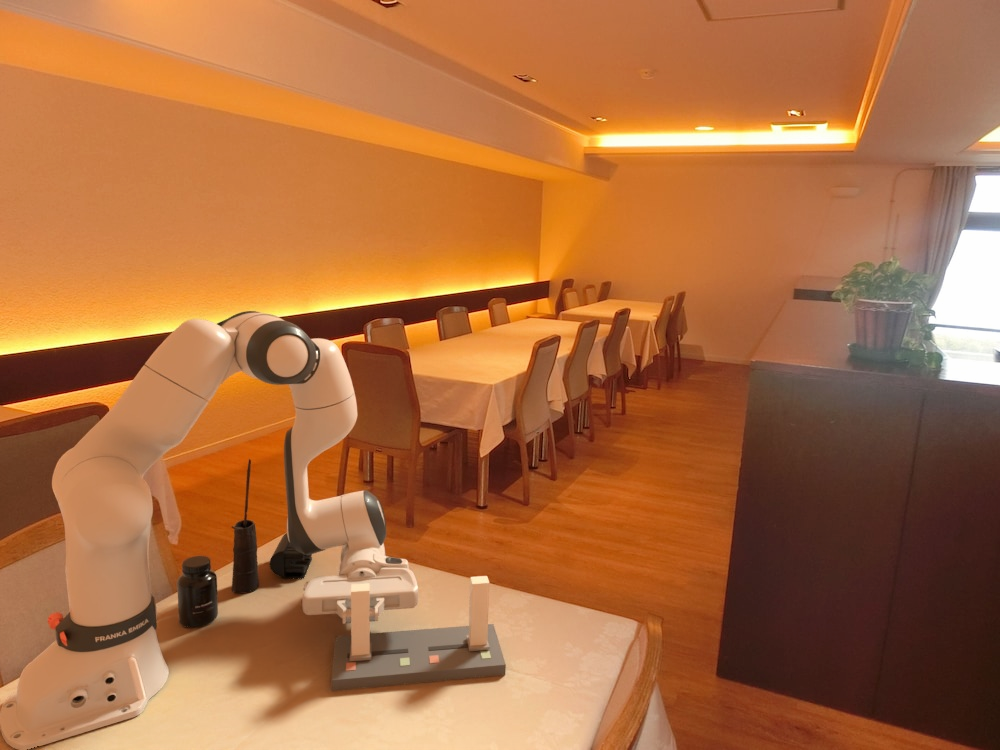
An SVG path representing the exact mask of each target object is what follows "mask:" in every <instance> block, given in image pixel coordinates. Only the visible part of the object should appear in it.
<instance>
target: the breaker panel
mask: <svg viewBox="0 0 1000 750" xmlns="http://www.w3.org/2000/svg"><path fill="white" fill-rule="evenodd" d="M466 635H469V625H464V626H462V625H460V626H449V627H448V626H446V627H438V628H436V627H434V628H423V629H421V628H420V629H409V630H397V631H383V632H373V633H372V632H370V643H371V660H361V661H350V645H351V644H352V643H351V634H346V635H345V634H344V635H335V640H334V649H333V650H334V651H333V659H332V660H333V661H332V668H331V670H332V671H331V680H330V681H331V684H330V685H331V692H334V691H347V690H356V689H357V690H358V689H367V688H369V689H370V688H378V687H379V688H380V687H390V686H391V687H392V686H399V685H400V686H401V685H410V684H411V685H412V684H420V683H421V684H422V683H424V684H425V683H433V682H443V681H453V680H454V681H455V680H464V679H465V680H466V679H474V678H475V679H477V678H487V677H497V676H498V677H499V676H505V675H506V672H507V671H506V670H507V667H506V666H507V665H506V661H505V657H504V654H503V651H502V647H501V643H500V641H499V638H498V634H497V631H496V628H495V625H494V623H488V635H487V640H488V643H489V647H490V649H489V650H478V651H469V648H468V643H467V639H466Z"/></svg>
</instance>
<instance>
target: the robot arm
mask: <svg viewBox="0 0 1000 750" xmlns="http://www.w3.org/2000/svg"><path fill="white" fill-rule="evenodd" d="M162 341H163V342H162V343H161V344H160V345H159V346H158V347H157V348H156V349H155V350H154V351H153V353H152V354H151V355H150V356H149V357H148V359H147V361H145V363H144V365H143V366H142V367H141V368H140V370H139V371H138V373H137V374H136V375H135V377H134V378H133V379H132V380H131V382H130V383H129V385H128V386H127V388H126V389H125V390H124V392H123V393H122V394H121V396H120V397H119V399H118V400H117V401H116V402H115V404H114V405H113V406H112V407H111V408H110V409H109V411H107V413H106V414H105V415H104V416H103V417H102V418H101V419H100V420H99V421H98V422H97V423H96V424H94V426H93V427H92V428H90V429H89V430H88V432H86V434H85V435H84V436H83V437H82V438H80V440H79V441H78V442H77V443H76V444H75V445H74V447H72V448H70V449H68V450H67V451H65V452H64V453H63V454H62V455H61V457H60V458H58V460H57V463H56V465H55V468H54V470H53V473H52V477H51V488H52V491H53V494H54V496H55V499H56V501H57V503H58V508H59V510H60V512H61V513H60V514H61V517H62V520H63V521H62V522H63V525H64V536H65V538H64V539H65V567H64V571H65V572H64V573H65V581H66V589H67V597H68V599H67V601H68V606H69V612H68V613H67V614H66V615H65V616H64V615H63V613H61V612H59V611H58V612H54V613H52V614H50V615H49V617H48V618H47V623H48V625H49V628H50V629H51V630H53V631H54V630H55V631H54V632H55V633H54V634H55V640H54V641H53V642H52V643H51V644H50V645H49V646H48V647H46V648H45V649H44V650H43V651H42V652H41V653H40V654H38V655H37V656H36V657H35V658H34V659H32V660H31V661H30V662H29V663H28V664H27V665H26V666H25V667H24V668H23V670H22V671H21V672H20V673H21V674H20V676H19V679H18V681H17V682H18V683H17V686H16V691H15V692H13V693H12V694H10V695H9V696H8V697H7V698H6V700H5V701H4V702H3V704H2V706H1V708H0V733H1V737H2V738H3V740H4V741H5V743H6V744H7V745H8V746H10V747H11V748H13V749H16V750H27V749H28V750H32V749H35V748H38V747H37V746H39V747H41V746H44V745H48V744H51V743H54V742H57V741H61V740H63V739H64V740H65V739H67V738H71V737H74V736H77V735H80V734H84V733H87V732H89V731H93V730H96V729H99V728H103V727H106V726H109V725H113V724H116V723H118V722H119V723H120V722H122V721H126V720H129V719H132V718H135V717H137V716H139V715H140V714H141V713H142V712H143V711H144V709H145V707H146V706H147V704H148V702H149V701H150V699H152V698H153V697H154V696H155V695H157V693H158V692H159V691H160V690H161V689H162V687H164V685H165V684H166V682H167V680H168V679H169V678H168V677H169V675H170V670H169V667H168V665H167V663H166V661H165V658H164V656H163V653H162V651H161V648H160V647H161V646H160V644H159V640H158V635H157V628H158V625H157V623H158V612H157V602H156V600H155V596H153V594H152V589H151V588H152V586H151V577H150V576H151V575H150V574H151V573H150V562H149V561H150V560H149V547H150V546H149V545H150V538H151V537H150V536H151V529H152V528H151V527H152V525H151V524H152V519H153V518H152V517H153V513H154V512H153V511H154V508H153V507H154V506H153V505H154V504H153V497H152V493H151V488H150V486H149V484H148V483H147V481H146V480H145V479H144V476H145V475H146V473H147V471H149V470H150V468H151V467H152V466H153V465H155V463H156V462H157V461H158V460H160V459H161V458H162V457H163V456H164V455H166V453H167V452H169V451H170V450H171V449H173V448H175V447H177V446H179V445H180V444H181V443H182V442H184V440H185V438H186V436H187V435H188V434H189V433H190V431H191V429H192V428H193V427H194V425H195V424H196V423H197V421H198V419H199V418H200V417H201V415H202V414H203V412H204V411H205V409H206V407H207V406H208V405H209V403H210V402H211V401H212V399H213V397H214V396H215V395H216V393H217V392H218V390H219V388H220V386H221V385H222V384H223V383H224V382H226V380H228V379H229V378H230V377H232V376H233V375H235V374H236V373H241V372H242V373H243V374H245V375H247V376H248V377H250V378H253V379H256V380H259V381H261V382H263V383H265V384H269V385H274V386H281V385H282V386H286V385H288V387H289V389H290V393H291V398H292V402H293V406H294V410H295V411H294V412H295V418H294V422H293V426H292V427H290V428H289V429H288V430H287V431H286V433H285V436H284V444H283V461H284V462H283V464H284V480H285V493H286V506H287V507H286V508H287V520H286V533H287V536H288V540H289V542H290V545H291V547H292V548H294V549H295V550H297V551H298V552H300V553H303V554H305V555H311V554H312V555H314V554H317V553H320V552H323V551H325V550H327V549H328V550H329V549H332V548H337V547H341V552H340V564H339V568H338V569H339V571H338V575H329V576H328V575H325V576H316V577H313V578H311V579H310V580H309V581H306V582H305V583H304V586H303V594H302V599H301V600H302V602H301V603H302V606H301V607H302V612H303V613H304V614H305V615H306V616H318V615H320V616H321V615H331V614H334V615H335V614H337V616H338V617H340V618H341V619H342V624H343V625H344V624H351V584H366V583H369V600H370V609H369V622H371V623H372V622H379V617H380V616H381V615H382V614H383V613H384V612H385V611H388V610H392V611H393V610H402V609H404V610H405V609H414V608H416V607H417V606H418V604H419V587H418V586H419V585H418V582H417V578H416V576H415V573H414V572H413V570H411V569H410V568H409V567H410V566H409V561H408V560H407V559H406V558H400V557H393V556H392V557H391V556H388V555H386V549H385V544H384V542H385V541H386V540H385V539H386V537H387V522H386V515H385V511H384V508H383V505H382V503H381V501H380V499H379V498H378V497H377V496H376V495H374V494H373V493H372V492H370V491H368V490H365V489H364V490H359V491H353V492H349V493H345V494H342V495H339V496H338V495H337V496H334V497H329V498H323V499H319V500H313V499H311V498H310V495H309V494H310V493H309V491H310V490H309V478H308V476H309V475H308V466H309V464H310V462H311V461H313V460H314V459H315V458H316V457H318V456H319V455H320V454H322V453H324V451H327V450H328V449H331V448H332V447H334V446H336V445H337V444H338V443H340V442H342V440H343V439H345V438H346V437H347V435H349V433H350V432H352V430H353V428H355V427H354V426H355V425H356V422H357V419H358V405H357V397H356V394H355V388H354V386H353V380H352V378H351V375H350V374H351V373H350V372H349V369H348V367H347V363H346V362H345V359H344V356H343V355H342V354H343V353H342V352H341V350H340V348H339V347H338V345H337V344H336V343H335V342H333V341H332V340H329V339H327V338H321V337H318V338H316V337H315V338H310V337H309V336H308V334H307V333H306V332H305V331H304V330H303V329H302V328H301V327H299V326H298V325H297V324H294V323H292V322H290V321H287V320H284V319H282V318H281V317H279V316H277V315H274V314H270V313H264V312H260V311H256V310H247V311H246V310H245V311H241V312H239V313H236V314H234V315H232V316H230V317H228V318H225V319H224V320H221V321H219V322H217V323H215V322H213V321H210V320H207V319H202V318H192V319H188V320H186V321H183V322H182V323H181V324H179V326H178V327H176V328H175V329H174V330H173V331H172V332H170V334H169V335H168V336H167V337H166V338H165V339H164V340H162ZM34 747H35V748H34ZM31 748H32V749H31Z"/></svg>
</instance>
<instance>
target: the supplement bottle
mask: <svg viewBox="0 0 1000 750" xmlns="http://www.w3.org/2000/svg"><path fill="white" fill-rule="evenodd" d="M181 565H182V566H181V567H182V569H181V575H180V576H179V577H178V579H177V583H176V587H177V590H176V591H177V607H178V608H177V609H178V611H177V612H178V620H179V621H178V622H179V624H180V625H181V626H183V627H184V628H187V629H188V628H189V629H197V628H198V629H199V628H202V627H206V626H208V625H210V624H211V623H214V621H216V619H217V617H218V616H219V615H218V614H219V599H218V576H217V574H216V572H215V571H214V570H212V564H211V558H210V557H209V556H206V555H194V556H191V557H188V558H186V559H184V560H183V561H182V564H181Z"/></svg>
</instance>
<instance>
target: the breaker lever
mask: <svg viewBox="0 0 1000 750" xmlns="http://www.w3.org/2000/svg"><path fill="white" fill-rule="evenodd" d="M469 578H470V579H469V580H470V581H469V582H470V585H469V588H470V589H469V611H468V612H469V613H468V615H469V617H468V626H469V635H466V639H467V643H468V648H469V651H478V650H489V649H490V647H489V643H488V640H487V635H488V624H489V605H490V580H489V578H488V576H487V575H477V576H470V577H469Z"/></svg>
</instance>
